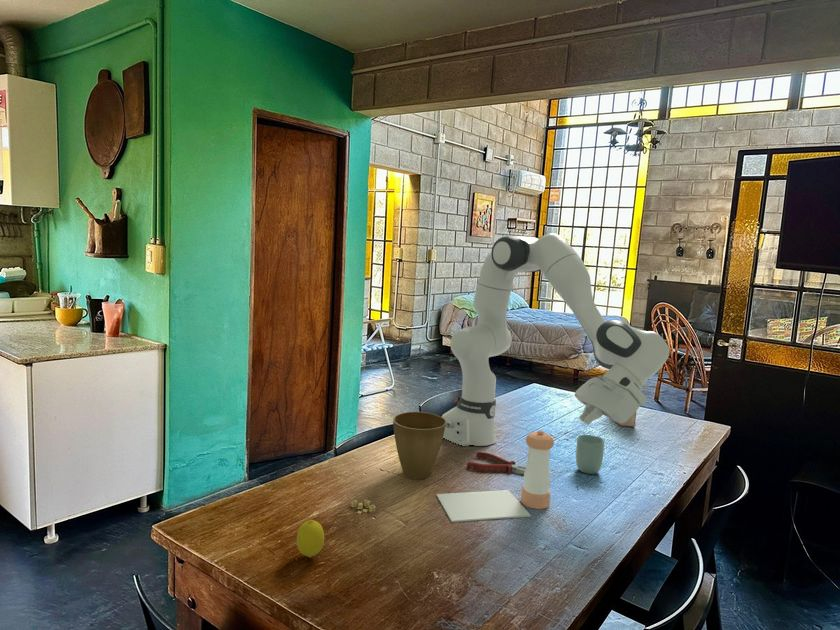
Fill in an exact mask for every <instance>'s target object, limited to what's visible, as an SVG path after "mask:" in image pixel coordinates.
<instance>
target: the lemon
mask: <svg viewBox="0 0 840 630" xmlns="http://www.w3.org/2000/svg"><path fill="white" fill-rule="evenodd" d="M324 543H325V531H324V529H323V526H322V525H321V524H320V523H319V522H318V521H316V520H313V519H309V520H307V521H305V522H303V523H302V524H301V525H300V526H299V529H298V531H297V534H296V546H297V549H298V551H299V552H300V553H301V554H302V555H303V556H306V557H308V558H309V559H310V558H312V557H314V556H316V555H318V554H320V552H321V550H322V549H323V547H324Z"/></svg>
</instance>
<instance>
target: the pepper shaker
mask: <svg viewBox="0 0 840 630" xmlns="http://www.w3.org/2000/svg"><path fill="white" fill-rule="evenodd" d="M525 442H526V444H527V446H528V451H527V459H526V460H527V461H526V465H525V467H526V469H525V473H524V474H523V485H522V486H521V491H520V492H521V494H520V495H521V496H520V502H521V505H524V506H525V507H527V508H531V509H536V510H543V509H547V508H549V507H550V503H551V502H550V500H551V490H550V485H551V484H550V483H551V471H550V457H551V449H552V448H553V447H554V444H555V441H554V438H553V436H552V435H550V434H548V433H546V432H544V431H543V430H541V429H540V430H537V431H534V432H533V431H532V432H530V433H528V434H527V436H526V438H525Z"/></svg>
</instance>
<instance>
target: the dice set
mask: <svg viewBox="0 0 840 630" xmlns="http://www.w3.org/2000/svg"><path fill="white" fill-rule="evenodd" d="M363 503H364V504H363ZM363 506H365V507H369V508H365V507H364V508H363ZM351 507H357V510H358V511H357V513H360V514H361V513H362V511H364V512H366V511H367V512H369V511H371V512H374V511H375V512H376V505H374V504H371V500H369V499H366V500H364V501H363V502H358V500H356V499H355V500H351V501H350V508H351ZM362 508H363V509H362ZM359 509H362V510H359ZM364 512H363V513H364ZM367 512H366V513H367ZM375 512H374V513H375ZM357 513H356V514H357ZM363 513H362V514H363ZM360 514H359V515H360ZM362 514H361V515H362Z"/></svg>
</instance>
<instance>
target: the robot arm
mask: <svg viewBox="0 0 840 630" xmlns="http://www.w3.org/2000/svg"><path fill="white" fill-rule="evenodd" d="M537 272H542V275H544V277H545V279H546V280H547V281H548V283H549V284H550V285H551V287H552V288H553V289H554V290H555V292H556V293H557V294H558V295H559V296H560V297H561V299H562V300H563V302H565V304H566V305H567V307H568V308H569V309H570V310H571V312H572V313H573V315H574V316H575V317H576V319H577V321H578V323H579V325H580V326H581V327H582V328H583V330H584V331H585V333H586V335H587V337H588V338H589V340H590V342H591V346H592V350H593V351H592V352H593V356H594V359H595V361H596V362H597V364H598V365H600V366H601V367H602V368H604V369H606V370H607V371H606V372H605V373H604V374H603V375H599V376H595V377H592V378H590V379H588V380H587V381H586V382H585V383H583V384H582V385H580V386H579V388H578V389H577V390H576V391H575V393H574V397H575V398H576V400H578V401H579V403H581V404H582V405H585V406H584V409H583V411H582V413H581V414H580V416H579V417H578V418H579V420H580V421H581V422H582V423H584V424H586V425H587V426H588V425H589V426H590V424H591V423H592V422H594V421H596V420H599V419H600V418H601V417H602V416H604V417H606V418H608V419H611V420H612V421H614V422H616V423H617V424H618V423H619V424H621V423H624V422H626V421H627V420H628V419H629V418H630V417H631V416H632V415H633V414H634V413H635V412H636V411H638V410H639V408H640V406H642V405H644V404H646V402H647V397H646V396H645V394H644V393H643V392H642V391H641V389H642V388H644V387H643V386H644V385H645V384H646V382H647V380H649V379H650V378H652V377H653V376H655V374H657V373H658V371H660V369H661V368H662V367H663V366H664V364H665V363H666V362H667V361H668V358H669V357H670V354H671V353H670V347H669V344H668V342H667V341H666V340H665V339H664V337H663V336H662V335H661V334H659V333H658V332H656V331H652V330H648V331H647V330H643V329H639V328H636V327H633V326H631V325H629V324H627V323H625V322H624V321H622V320H618V319H610V320H607V321H606V320H605V318H604V317H603V315H602V314H601V312H600V311H599V309H598V308H597V305H596V303H595V301H594V297H593V293H592V292H593V291H592V284H591V276H590V273H589V271H588V268H587V266H586V264H585V263H584V261H583V260H582V258H581V257H580V255H579V254H578V253H577V252H576V250H575V249H574V248H573V247H572V246H571V245H570V244H569V242H567V241H566V240H565V239H564V238H563V237H562V236H561V235H559V234H558V233H553V232H551V233H547V234H544V235H543V236H541V237H534V236H530V235H522V236H521V235H520V236H519V235H505V236H502V237H500V238H498V239H497V240H496V241H495V242H494V243H493V245H492V248H491V252H490V253H488V254H487V255H486V257H485V259H484V261H483V265H482V266H481V269H480V273H479V276H478V281H477V284H476V290H475V294H474V298H473V308H474V310H475V311H476V312H477V317H478V322H477V325H474V326H473V325H472V326H465V327H464V328H460V329H458V330H457V331H455V332H454V333H453V335H452V336H451V339H450V349H451V352H452V354H453V355H454V356H455V358H456V359H457V360H458V362H459V364H460V368H461V374H462V383H461V384H462V388H461V396H458V397H456V398H454V403H457V404H456V406H454V407H453V408H450V410H448V411H446V412H445V413H443V414H442V416H441V417H442V418H444V419H445V420H446V426H445V431H444V435H443V438H445V439H444V440H446V439H447V441H448V440H449V442H450V441H451V443H453V442H454V443H453V444H455V443H456V445H458V444H459V445H458V446H460V445H462V447H470V446H469V445H474V446H475V447H484V446H490V445H494V444H495V443H497V441H498V439H497V435H496V426H495V416H496V407H497V405H496V403H497V400H496V384H497V377H496V375H495V373H494V372H493V371H491V367H490V361H489V358H492V357H496V356H497V357H498V356H500V355H501V354H503V353H505V352H506V351H508V350H509V349H510V347H511V346H512V341H513V337H512V333H511V331H510V330H509V329H508V323H507V312H508V306H509V302H510V296H511V292H512V288H513V285H514V284H513V283H514V279H515V277H516V276H517V274H518V273H537ZM636 413H637V412H636ZM619 424H618V425H619ZM474 446H473V447H474Z"/></svg>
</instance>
